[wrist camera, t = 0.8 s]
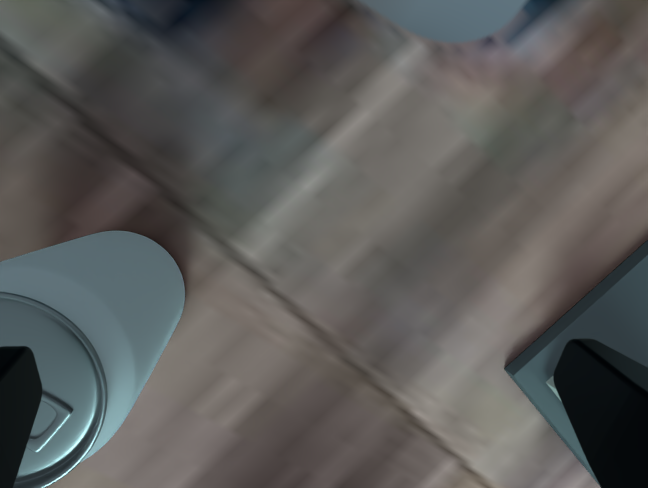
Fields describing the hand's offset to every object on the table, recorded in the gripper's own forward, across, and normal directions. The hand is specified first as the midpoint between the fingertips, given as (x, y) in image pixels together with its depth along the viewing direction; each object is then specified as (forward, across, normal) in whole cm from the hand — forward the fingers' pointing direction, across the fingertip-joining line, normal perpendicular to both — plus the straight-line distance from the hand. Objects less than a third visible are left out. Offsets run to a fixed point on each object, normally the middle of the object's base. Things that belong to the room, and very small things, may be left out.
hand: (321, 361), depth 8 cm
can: (+15, +8, +9) cm, 19 cm away
